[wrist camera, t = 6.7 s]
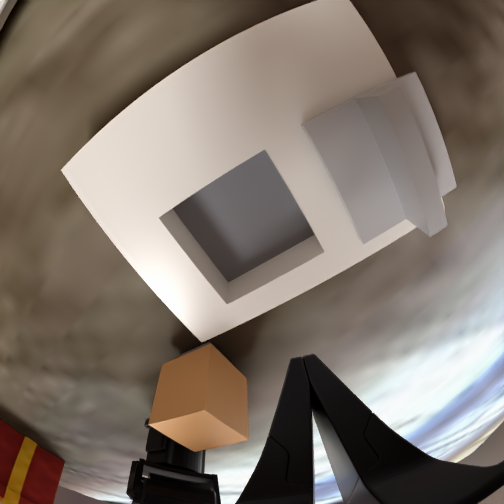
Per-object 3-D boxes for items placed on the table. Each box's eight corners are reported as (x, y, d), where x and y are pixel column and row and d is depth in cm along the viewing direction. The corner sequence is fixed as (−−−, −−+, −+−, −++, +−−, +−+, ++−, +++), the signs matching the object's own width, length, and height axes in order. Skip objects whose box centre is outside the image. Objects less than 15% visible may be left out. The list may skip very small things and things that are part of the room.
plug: (246, 365, 24) (249, 439, 17) (201, 383, 25) (194, 451, 18) (212, 330, 22) (204, 409, 15) (165, 351, 23) (148, 424, 16)
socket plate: (420, 195, 18) (444, 209, 15) (205, 315, 21) (201, 342, 18) (327, 9, 12) (343, -8, 9) (85, 160, 16) (60, 170, 13)
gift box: (-13, 404, 33) (-43, 471, 14) (79, 466, 41) (63, 535, 23) (-13, 425, 40) (-34, 475, 22) (58, 472, 48) (44, 524, 30)
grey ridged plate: (450, 184, 14) (483, 200, 11) (359, 240, 15) (382, 266, 12) (409, 72, 11) (444, 67, 8) (300, 124, 12) (317, 126, 10)
